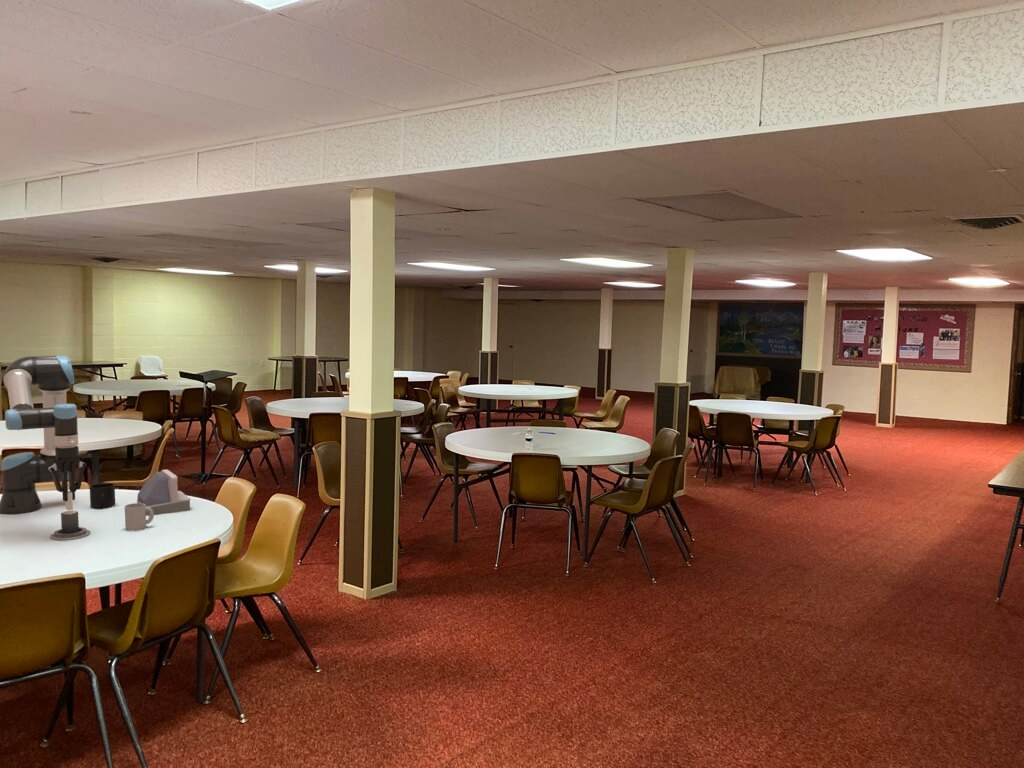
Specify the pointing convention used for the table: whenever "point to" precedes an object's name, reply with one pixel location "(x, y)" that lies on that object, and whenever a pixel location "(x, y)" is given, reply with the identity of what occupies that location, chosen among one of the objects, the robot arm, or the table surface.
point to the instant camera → (163, 494)
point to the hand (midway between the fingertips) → (69, 509)
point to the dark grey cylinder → (69, 522)
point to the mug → (102, 495)
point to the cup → (137, 516)
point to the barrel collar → (59, 536)
